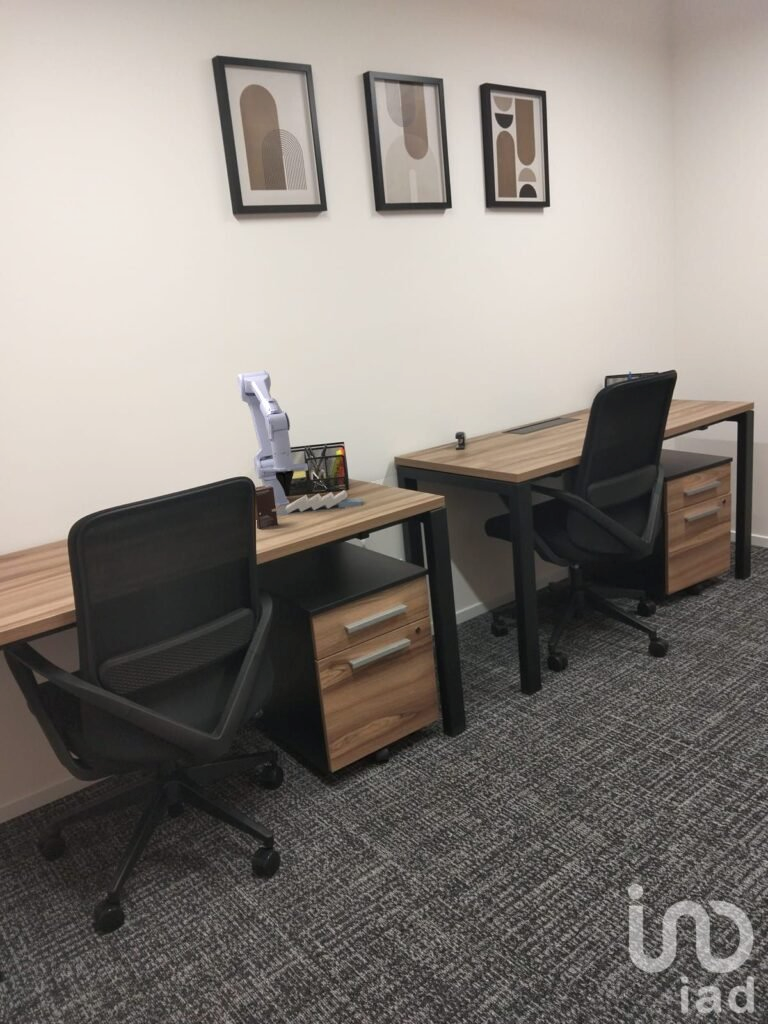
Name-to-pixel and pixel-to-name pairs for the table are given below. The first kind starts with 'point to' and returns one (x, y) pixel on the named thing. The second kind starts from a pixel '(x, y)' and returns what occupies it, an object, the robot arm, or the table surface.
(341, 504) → the end tile
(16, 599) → the table surface
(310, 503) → the tile
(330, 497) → the tile
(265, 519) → the box
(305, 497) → the tile
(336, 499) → the tile
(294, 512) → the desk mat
